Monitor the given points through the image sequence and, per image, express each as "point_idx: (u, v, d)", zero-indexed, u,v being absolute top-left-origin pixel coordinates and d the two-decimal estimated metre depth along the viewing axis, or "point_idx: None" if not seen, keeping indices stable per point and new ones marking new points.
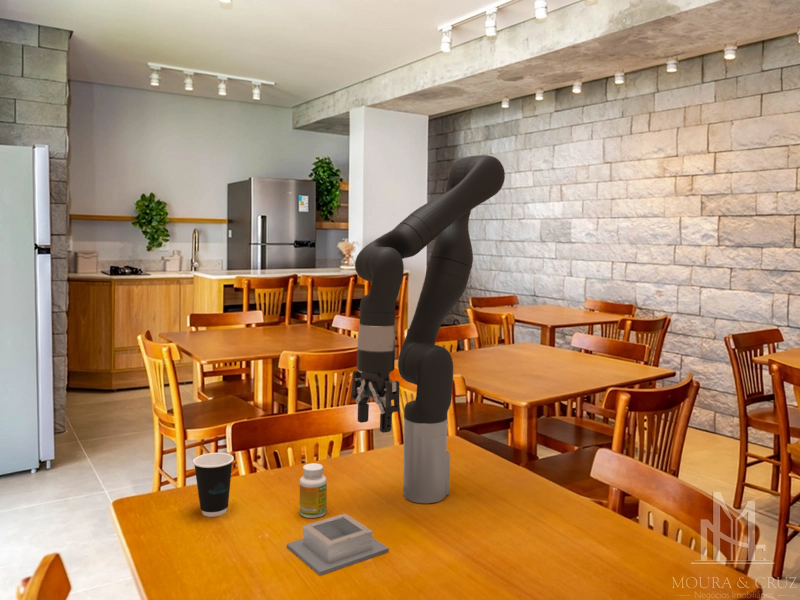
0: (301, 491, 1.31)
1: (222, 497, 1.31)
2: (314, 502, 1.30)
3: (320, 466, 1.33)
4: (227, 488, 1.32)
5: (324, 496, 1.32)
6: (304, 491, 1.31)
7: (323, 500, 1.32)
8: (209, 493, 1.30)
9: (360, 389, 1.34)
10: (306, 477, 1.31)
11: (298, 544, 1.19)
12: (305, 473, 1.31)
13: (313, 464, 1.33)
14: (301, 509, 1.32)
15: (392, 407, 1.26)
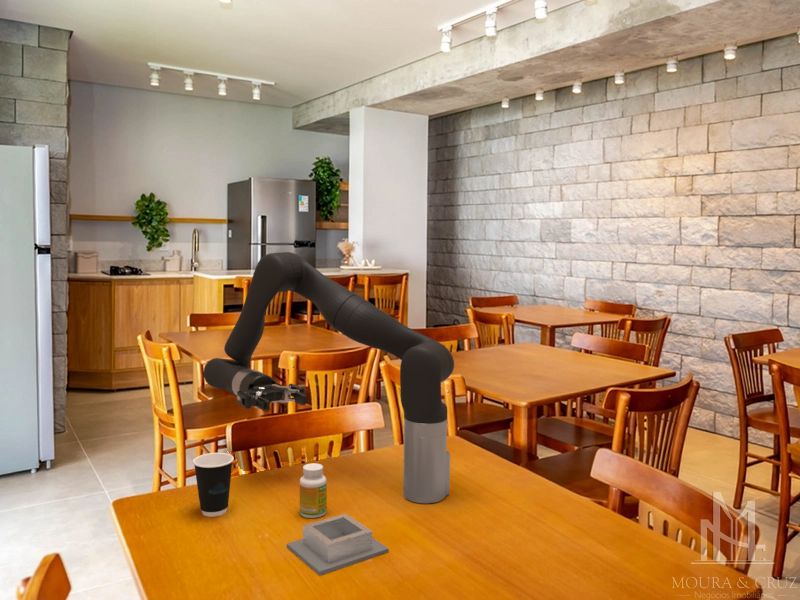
0: (301, 491, 1.31)
1: (222, 497, 1.31)
2: (314, 502, 1.30)
3: (320, 466, 1.33)
4: (227, 488, 1.32)
5: (324, 496, 1.32)
6: (304, 491, 1.31)
7: (323, 500, 1.32)
8: (209, 493, 1.30)
9: None
10: (306, 477, 1.31)
11: (298, 544, 1.19)
12: (305, 473, 1.31)
13: (313, 464, 1.33)
14: (301, 509, 1.32)
15: None
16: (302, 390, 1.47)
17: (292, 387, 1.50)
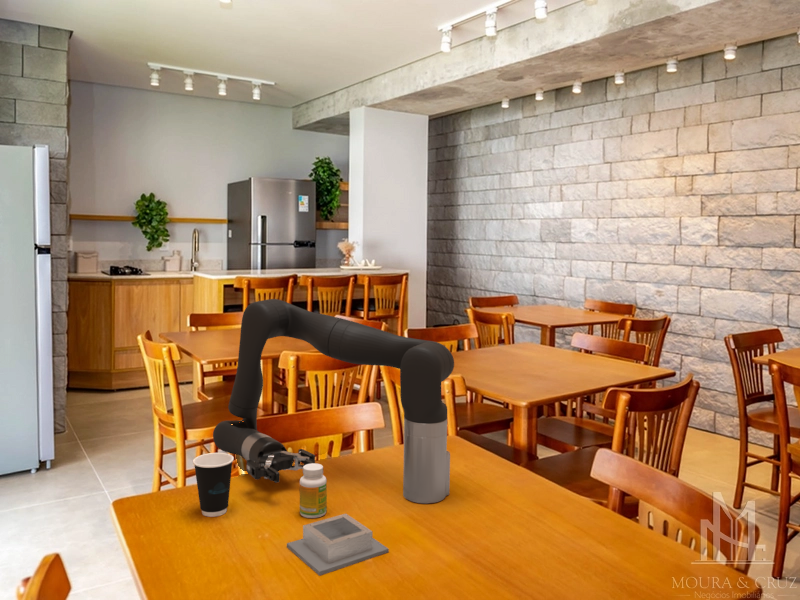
0: (301, 491, 1.31)
1: (222, 497, 1.31)
2: (314, 502, 1.30)
3: (320, 466, 1.33)
4: (227, 488, 1.32)
5: (324, 496, 1.32)
6: (304, 491, 1.31)
7: (323, 500, 1.32)
8: (209, 493, 1.30)
9: None
10: (306, 477, 1.31)
11: (298, 544, 1.19)
12: (305, 473, 1.31)
13: (313, 464, 1.33)
14: (301, 509, 1.32)
15: None
16: (312, 457, 1.46)
17: (302, 453, 1.48)
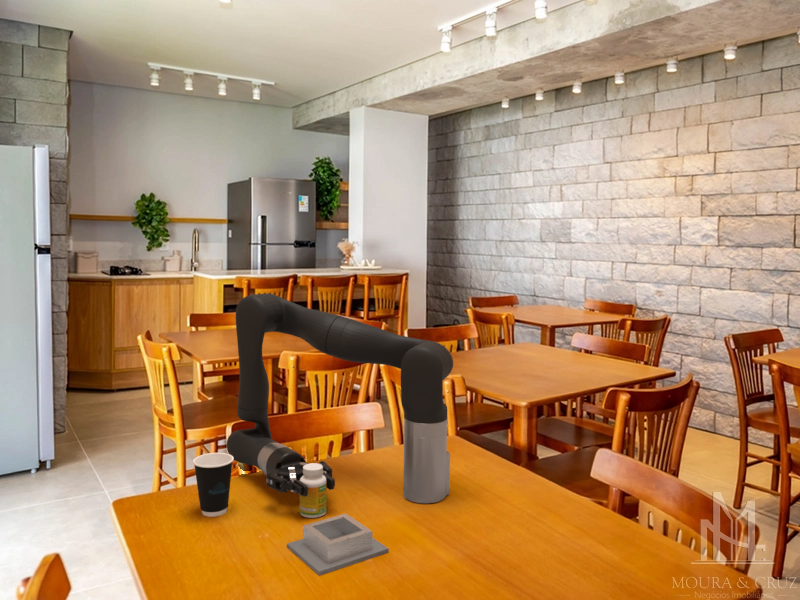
0: None
1: (222, 497, 1.31)
2: (314, 502, 1.30)
3: (320, 466, 1.32)
4: (227, 488, 1.32)
5: (324, 496, 1.32)
6: None
7: (323, 500, 1.32)
8: (209, 493, 1.30)
9: None
10: (306, 477, 1.31)
11: (298, 544, 1.19)
12: (305, 473, 1.31)
13: (313, 464, 1.33)
14: (301, 509, 1.32)
15: None
16: (329, 471, 1.37)
17: None
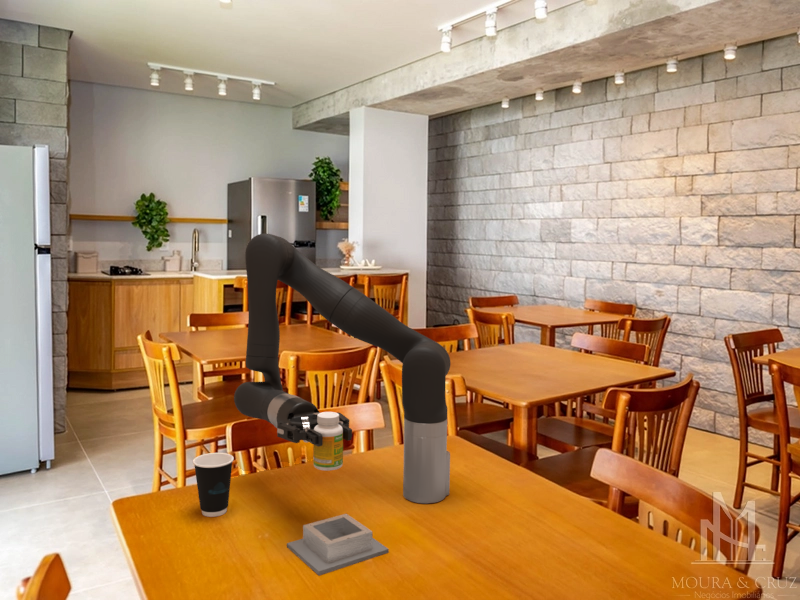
0: None
1: (222, 497, 1.31)
2: (329, 453, 1.19)
3: (336, 414, 1.21)
4: (227, 488, 1.32)
5: (340, 447, 1.20)
6: None
7: (339, 451, 1.20)
8: (209, 493, 1.30)
9: None
10: (320, 426, 1.19)
11: (298, 544, 1.19)
12: (320, 421, 1.19)
13: (329, 412, 1.21)
14: (315, 461, 1.20)
15: None
16: (345, 422, 1.25)
17: None
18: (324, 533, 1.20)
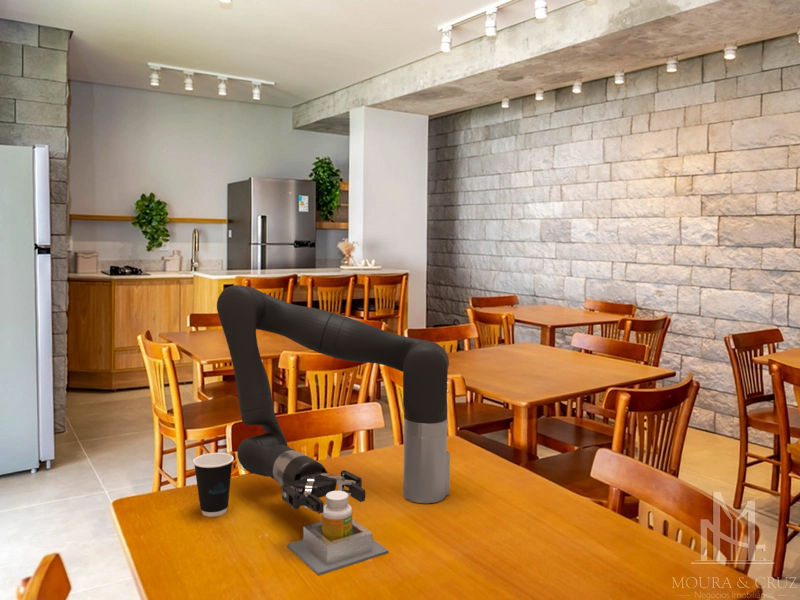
0: (324, 523, 1.16)
1: (222, 497, 1.31)
2: (338, 536, 1.15)
3: (345, 494, 1.17)
4: (227, 488, 1.32)
5: (349, 528, 1.17)
6: (327, 523, 1.15)
7: (349, 533, 1.16)
8: (209, 493, 1.30)
9: None
10: (329, 508, 1.16)
11: (298, 544, 1.19)
12: (328, 503, 1.16)
13: (337, 492, 1.18)
14: None
15: None
16: (358, 481, 1.23)
17: (346, 475, 1.26)
18: None
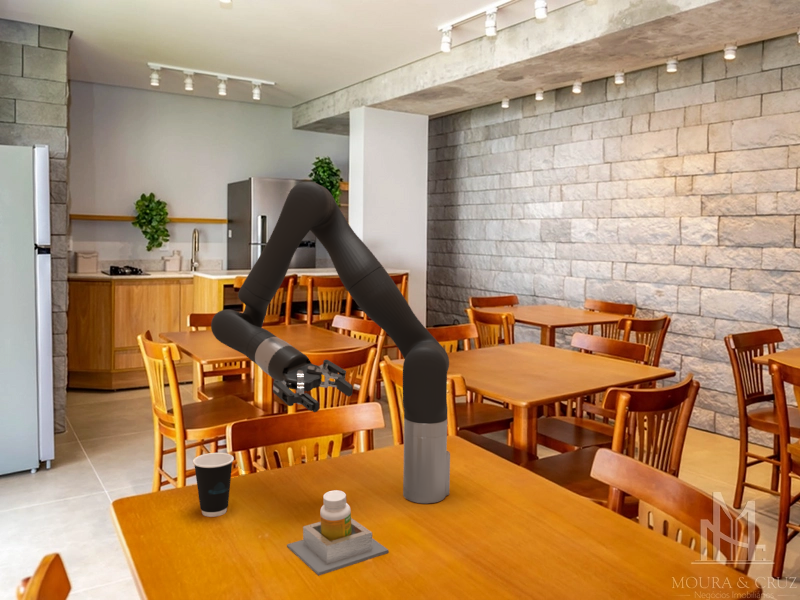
0: (324, 525, 1.15)
1: (222, 497, 1.31)
2: (341, 535, 1.15)
3: (342, 494, 1.17)
4: (227, 488, 1.32)
5: (350, 526, 1.17)
6: (328, 524, 1.15)
7: (349, 531, 1.17)
8: (209, 493, 1.30)
9: None
10: (329, 509, 1.15)
11: (298, 545, 1.19)
12: (328, 505, 1.15)
13: (334, 492, 1.17)
14: None
15: (287, 399, 1.23)
16: (343, 374, 1.31)
17: (329, 366, 1.33)
18: None
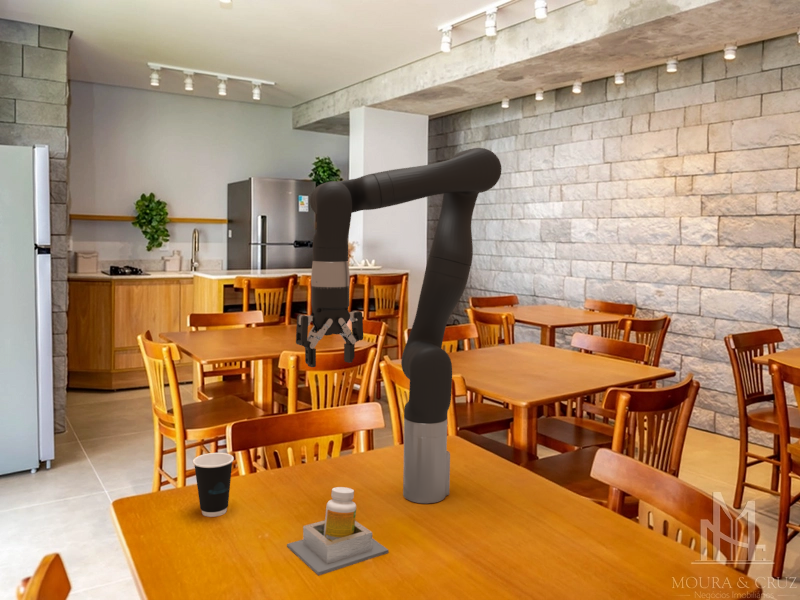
0: (333, 518, 1.16)
1: (222, 497, 1.31)
2: (349, 529, 1.16)
3: (349, 489, 1.19)
4: (227, 488, 1.32)
5: (354, 522, 1.19)
6: (339, 517, 1.16)
7: None
8: (209, 493, 1.30)
9: None
10: (339, 502, 1.17)
11: (298, 544, 1.19)
12: (339, 497, 1.17)
13: (340, 488, 1.20)
14: (331, 540, 1.16)
15: (298, 340, 1.28)
16: (359, 339, 1.35)
17: (357, 322, 1.34)
18: None
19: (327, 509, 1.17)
